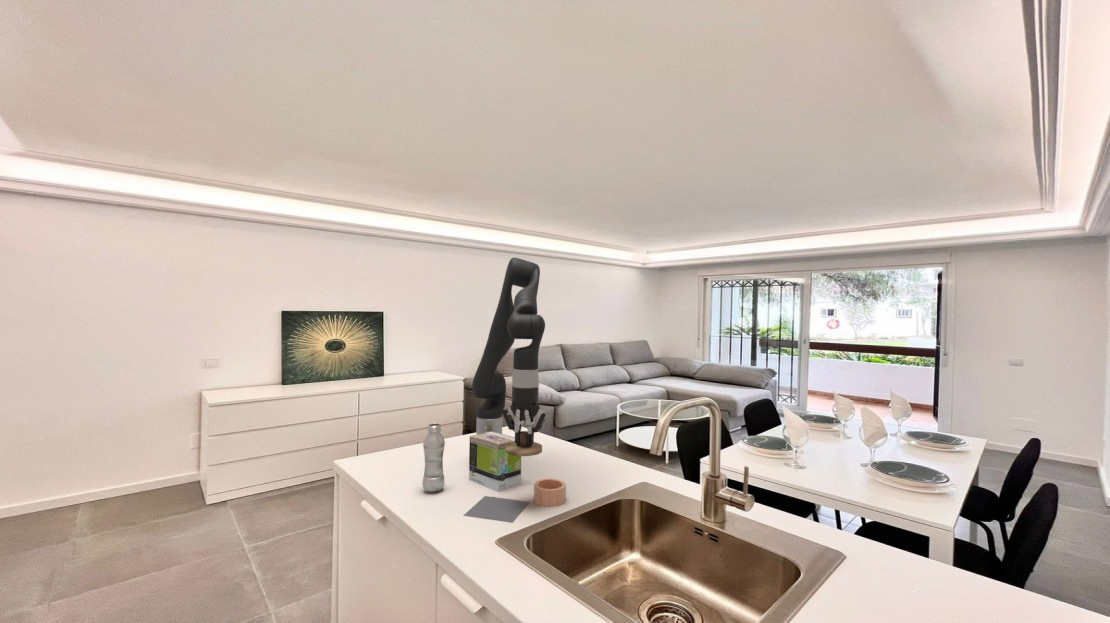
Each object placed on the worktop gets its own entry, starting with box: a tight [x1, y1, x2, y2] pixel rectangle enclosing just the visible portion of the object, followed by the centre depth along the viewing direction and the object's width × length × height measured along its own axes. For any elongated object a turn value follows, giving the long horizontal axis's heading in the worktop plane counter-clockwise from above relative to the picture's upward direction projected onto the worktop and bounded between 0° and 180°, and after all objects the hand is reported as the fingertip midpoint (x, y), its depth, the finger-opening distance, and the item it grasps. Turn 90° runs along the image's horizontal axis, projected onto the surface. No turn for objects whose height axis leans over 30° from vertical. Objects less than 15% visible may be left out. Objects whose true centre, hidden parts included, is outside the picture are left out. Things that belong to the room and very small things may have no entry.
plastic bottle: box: [421, 423, 446, 493], centre depth 142 cm, size 6×7×20 cm
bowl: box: [533, 478, 567, 507], centre depth 135 cm, size 9×9×5 cm
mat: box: [462, 495, 531, 524], centre depth 129 cm, size 14×14×1 cm
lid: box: [505, 430, 543, 457], centre depth 132 cm, size 10×10×5 cm
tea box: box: [468, 431, 522, 492], centre depth 150 cm, size 15×10×15 cm
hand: (524, 445), depth 132 cm, fingers closed on lid, 2 cm apart
